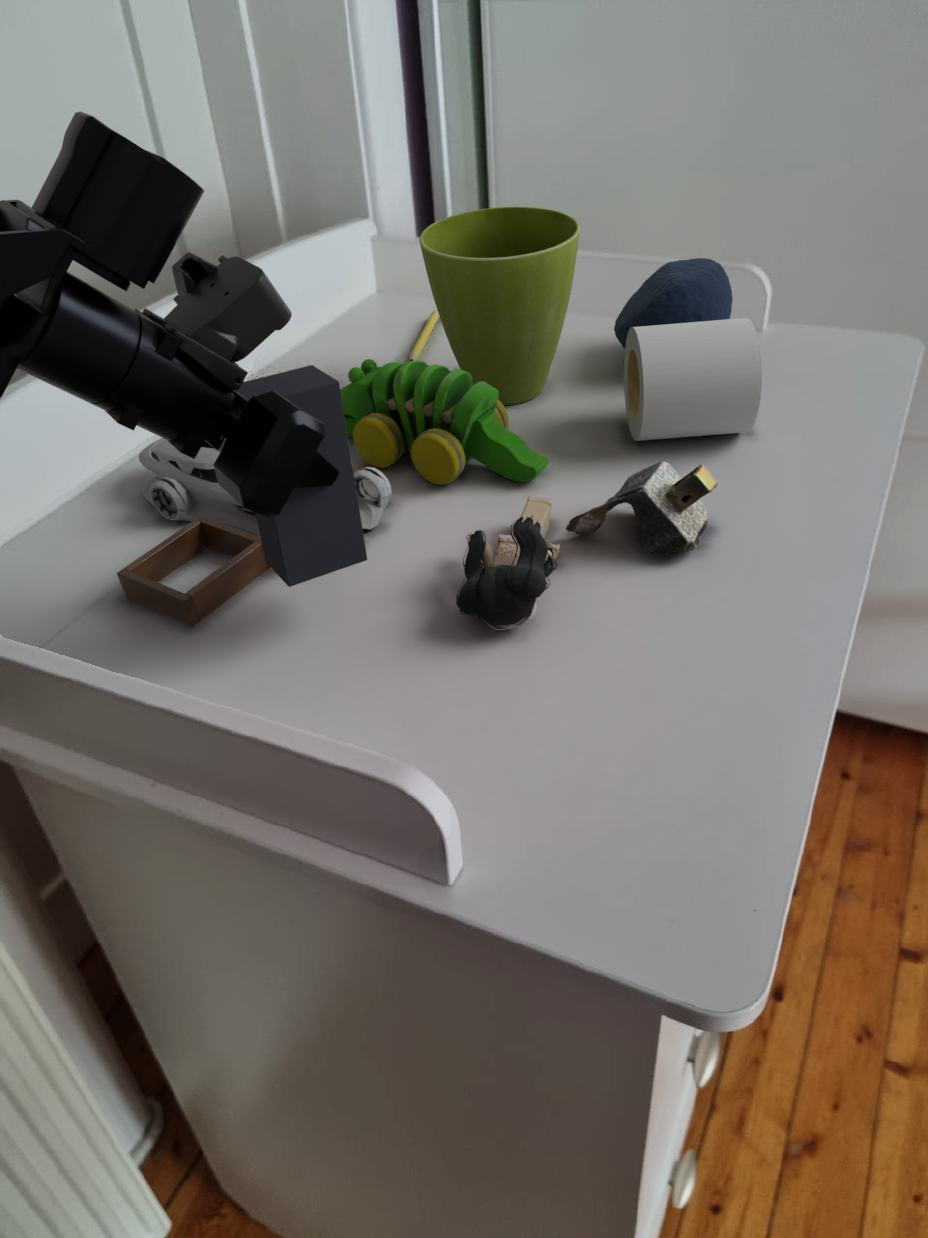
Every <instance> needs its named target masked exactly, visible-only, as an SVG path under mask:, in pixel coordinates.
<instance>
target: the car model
mask: <svg viewBox="0 0 928 1238" xmlns="http://www.w3.org/2000/svg"><path fill="white" fill-rule="evenodd" d="M219 454H220V452H219V451H217V450H215V449H212V448H204V447H201V449H200V450H199V452H198V454H197V456H196V457H195V459H193V458H191V457H189V456H187V455H184V454H182V453H180V452H179V451H178V450H177V449H176V448H175V447H174V446H173V445H172V444H170V443H169V442H168V441H167V440H166V439H164V438H162V437H161V438H159V439H158V440H155V441H153V442H152V443H150V444H149V445H148V446H146V447H145V448H144V449H143V450H141V451H140V452H139V455H138V460H139V462H140V464H141V465H142V467H144V468H145V469H146V470H148V471H149V472H151V473H152V474H154V475H155V476H156V477H155V478H154V479H152V480H151V481H150V482H149V483H148V484H146V486H145V487H143V489H142V496H143V497H144V498H145V499H146V500H147V501H148V502H149V503H150V504H151V505H152V506H153V507H154V508H155V509H156V510H157V512H159V514H161V516H162V517H163V518H165V519H166V520H170V521H184V522H185V521H186V522H192V521H194V520H195V519H196V518H198V517H199V516H203V517H206V518H209V519H212V520H215V521H217V522H220V523H223V524H226V525H229V526H232V527H234V528H237V529H240V530H243V531H246V532H249V533H252V534H254V535H257V536H260V532H259V528H258V523H257V519H256V515H255V512H253V511H250V510H248V509H246V508H244V507H243V506H242V505H241V504H239V503H238V502H237V501H236V500H235V499H234V498H233V497H232V496H231V495H230V494H229V493H227V492H226V491H225V490H224V489H223V488H222V487H221V486H220V485H219V484H218V480H217V476H216V472H215V469H214V463H215V461H216V459H217V458H218V456H219ZM354 479H355V485H356V491H357V497H358V504H359V510H360V516H361V523H362V529H363V532H366V531H368V532H370V531H372V530H374V529H375V528H377V527H378V525H379V523H380V521H381V519H382V516H383V514H384V511H385V508H386V507H387V505H388V503H389V501H390V499H391V497H392V492H393V491H392V486H391V483H390V481H389V479H388V477H387V476H386V475H385V474H384V473H383V472H382V471H381V470H379V469H377V467H373V466H366V467H362V468H360V469H358V470H357V471H355V472H354ZM364 480H366V481H369V482H370V483H371V484H372V485H373V486H374V487H375V489H376V490H377V495H378V497H374V496H373V495H372V494H370V493H369V492H368V491H367V489H366V488H365V485H364Z"/></svg>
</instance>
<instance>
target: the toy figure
mask: <svg viewBox="0 0 928 1238" xmlns="http://www.w3.org/2000/svg"><path fill="white" fill-rule="evenodd" d="M551 509H552V498H548V497H540V496H531V495H530V496H527V501H526V503H525V505H524V508H523V510H522V512H521V514H520V517H519V518H518V519H516V520H514V521H513V522H512V524H511V525H510V535H509V534H502V533H501V534H497V541H496V551H495V554H494V552H493V549H492V548H491V545H490V544H489V543H488V542H487V538H486V533H485V532H484V531H483V530H481V529H477V530H475V531H474V532H473V531H471V532H469V533H468V534H467V535H466V537H465V538H466V540H467V547H466V550H465V553H464V555H463V558H462V565H463V572H464V576H465V578H464V579H463V581H462V583H461V584H462V586H458V588H457V589H458V590H457V592H456V596H455V597H456V598H455V599H456V606H457V607H458V609H459V613H460V614H461V615H466V616H476V618H478V619H479V620H480V621H482V622H484V623H486V624H487V626H489V627H490V628H491V629H494V630H496V631H504V630H509V629H511V630H512V629H516V628H517V627H520V626H522V625H524V624H526V623H528V622H529V621H531V620H533V619H534V617H535V616H536V614H537V612H538V603H537V602H536V601H537V599H538V598H539V597H541V596H542V594H544V592H545V591H546V590H547V589H548V588H549V587H550V585H551V581H550V578H549V576H551V574H552V573H553V572H554V571H555V570H556V569H557V568H558V563H557V561H556V559H558V556H559V554H560V553H559V552H560V549H561V544H560V543H555V544H554V543H551V542H548V543H547V542H546V540H545V538H546V535H547V533H548V530H549V527H550V517H551V511H552V510H551ZM466 553H467V554H466ZM465 556H466V557H465ZM553 560H554V561H553ZM546 578H547V580H546ZM464 581H465V582H464ZM547 581H548V582H547Z"/></svg>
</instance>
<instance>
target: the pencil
mask: <svg viewBox="0 0 928 1238" xmlns="http://www.w3.org/2000/svg"><path fill="white" fill-rule="evenodd" d="M439 319H440V316H439V313H438V310H437V309H434V310H433V311H432V312H431V314H430V316H429V318H428V320H427V321H426V324H425V325H424V326H423V329H422V331H421V333H420V335H419V337H418V338H417V341H416V342H415V344H414V346H413V348H412V350H411V352H410V353H409V355H408V356H409V357H408V358H409V361H418V359H419V357H420V355H421V353H422V351H423V350H424V347H425V346H426V343H427V341H428V339H429V337H430V336H431V333H432V332H433V330H434V328H435V327H436V323H437V322H438V320H439Z"/></svg>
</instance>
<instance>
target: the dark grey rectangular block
mask: <svg viewBox="0 0 928 1238" xmlns="http://www.w3.org/2000/svg"><path fill="white" fill-rule="evenodd" d="M340 389H341V384H340V381H339V380H338V379H336V378H334V377H332V376H331V375H329V374H328V373H326V372H325V371H323V370H321V369H319V368H318V367H316V366H315V365H313V364H310V365H306V366H303V367H298V368H293V369H290V370H286V371H283V372H278V373H274V374H269V375H266V376H262V377H258V378H254V379H250V380H246V381H243V383H242V384H241V386H240V388H239V389H238V390H237V392H238V393H239V394H241V395H242V396H244V397H245V398H246V399H248V400H250V399H251V398H252V397H253V396H254V395H256V394H259V395H260V394H263V393H266V392H269V391H272V390H273V391H274V392H276V393H278V394H280V395H281V396H284V397H285V398H287V399H288V400H290V401H291V402H293V403H294V404H296V405H298V406H299V407H301V408H303V409H304V410H305V411H307V412H308V413H310V414H311V415H313V416H314V417H315V418H317V419H318V420H320V421H321V422H323V423H324V424H325V436H324V438H323V440H322V442H321V443H320V445H319V447H318V448H317V450H316V451H318V452H319V453H320V454H321V455H322V456H323V457H324V458H325V459H326V460H327V461H329V462H330V463H331V464H332V465H333V466H334V467H335V468H336V469H337V470H338V471H339V475H338V477H337V479H336V481H335V482H334V484H333V485H331V486H322V487H309V488H297V489H294V490H293V491H292V493H291V495H290V496H289V498H288V500H287V502H286V503H285V505H284V507H283V508H282V510H281V512H280V514H279V515H277V516H275V517H273V518H270V519H268V518H266V517H264V516H262V515H259V514H257V513H255V515H256V519H257V523H258V528H259V532H260V537H261V541H262V546H263V550H264V554H265V559H266V562H267V563H268V564H269V565H270V566H271V567H270V568H271V569H272V570H273V571H274V572H275V574H277V575H278V577H279V578H280V579H281V580H282V581H283V582H284V584H286V586H287V587H288V588H291V587H293V586H296V585H300V584H302V583H305V582H308V581H310V580H313V579H316V578H319V577H322V576H325V575H329V574H331V573H334V572H336V571H340V570H343V569H346V568H348V567H351V566H354V565H357V564H360V563H363V562H366V561H368V555H367V554H368V553H367V549H366V543H365V542H366V541H365V535H364V531H363V529H362V523H361V516H360V510H359V504H358V497H357V491H356V485H355V479H354V474H355V472H354V467H353V460H352V453H351V449H350V448H351V447H350V441H349V436H348V435H347V428H346V422H345V416H344V409H343V403H342V397H341V390H340ZM232 413H233V414H234V415H236V416H237V417H238V418H240V417H241V416H240V415H238V414H237V413H236V412H234V410H232Z"/></svg>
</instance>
